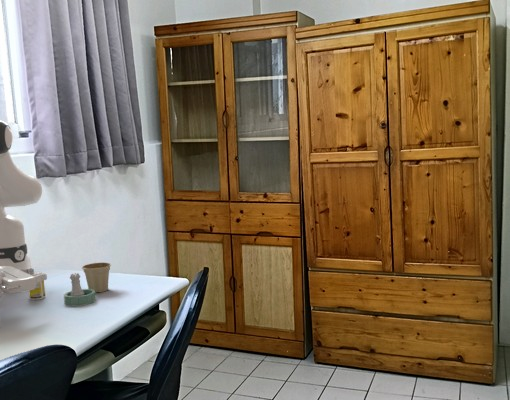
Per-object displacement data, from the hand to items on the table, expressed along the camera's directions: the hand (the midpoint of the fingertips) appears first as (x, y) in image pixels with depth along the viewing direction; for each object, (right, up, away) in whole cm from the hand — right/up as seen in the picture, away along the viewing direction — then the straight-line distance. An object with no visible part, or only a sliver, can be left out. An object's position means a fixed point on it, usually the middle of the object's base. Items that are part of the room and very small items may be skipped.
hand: (39, 273), depth 176 cm
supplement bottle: (-6, -10, +16) cm, 19 cm away
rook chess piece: (+9, -9, +10) cm, 16 cm away
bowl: (+10, -10, +9) cm, 16 cm away
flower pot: (+12, -9, +21) cm, 26 cm away
